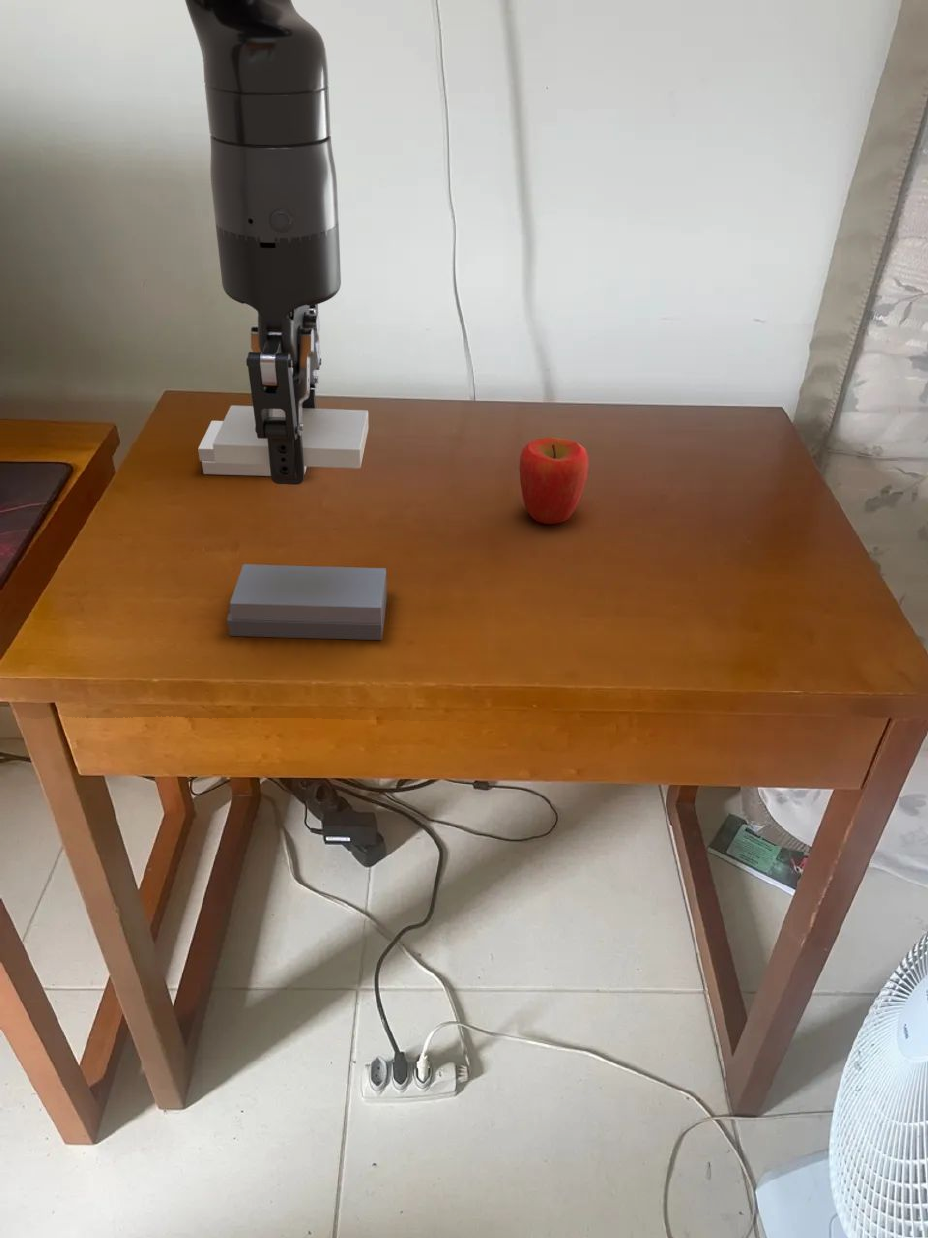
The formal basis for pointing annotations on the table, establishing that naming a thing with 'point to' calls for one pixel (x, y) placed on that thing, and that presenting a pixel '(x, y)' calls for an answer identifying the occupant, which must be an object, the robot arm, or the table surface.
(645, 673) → the table surface
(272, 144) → the robot arm
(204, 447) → the white books
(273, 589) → the grey books
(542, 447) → the apple
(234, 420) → the white book
